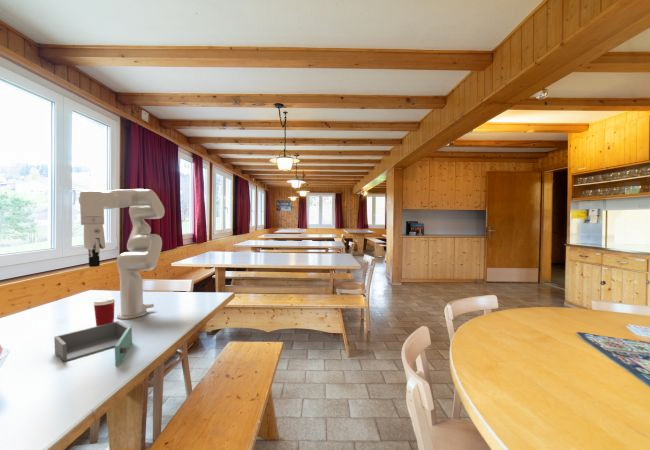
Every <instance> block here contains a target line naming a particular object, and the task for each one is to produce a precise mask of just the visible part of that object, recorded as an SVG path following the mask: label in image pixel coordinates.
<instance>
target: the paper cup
mask: <svg viewBox="0 0 650 450" xmlns="http://www.w3.org/2000/svg"><path fill="white" fill-rule="evenodd" d="M115 302H116V300H115V298H114V297H103V298H98V299H96V300H94V302H93V304H92V305H93V310H94V316H95V317H94V318H95V324H96V325H95V327H96V326H100V325H104V324H108V323H113V322H115Z"/></svg>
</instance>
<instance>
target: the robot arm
mask: <svg viewBox="0 0 650 450" xmlns="http://www.w3.org/2000/svg"><path fill="white" fill-rule="evenodd" d="M78 204H79V209H80V225H81V226H83V246H84V249H87V252H88V267H89V268H95V267H100V266H101V263H100V259H101V258H100V252H101V249H102V250H103V249H105V248H106V239H105V229H104V226H105V210H113V209H118V208H119V209H121V208H123V209H124V208H128V207H129V209H128V214H129V217H130V221H131V224H132V230H131V232H130V234H129V237H128V240H127V243H126V249H127V251H124V252H122V253H120V254H119V255H118V256H117V258H116V266H117V270H118V276H119V294H120V295H119V296H120V298H119V299H120V313H119V312H118V314H117V317H116V318H118V319H119V320H128V319H129V320H130V319H135V318H139V317H142V316H145V315H146V314H147V313H148V309H150V308H154V307H155V305H154V303H150V304H149V303H146V304H145V303H144V293H143V291H144V288H143V287H144V285H143V284H144V283H143V282H144V281H143V278H142V275H141V274H140V273H139V272H143V271H144V272H145V271H147V272H148V271H153V270H155V268H156V267H157V265H158V262H159V259H160V256H161V255H160V254H161V252H162V247H163V239H162V237H161V236H160V235H159V234H157V233H151V232H152V227H151V226H150V225H149V224H148V222H146V220H156V219H157V220H158V219H159V220H160V219H162V218H163V217H164V216H165V212H166V210H165V206H164V205H163V203H162V201H161V200H160V198H159V196H158V195H157V193H156V192H155V191H154V190H153V189H148V188H145V189H144V188H132V189H131V188H129V189H127V188H126V189H111V190H96V189H95V190H93V189H92V190H91V189H88V190H87V189H85V190H81V191H80V193H79V197H78Z"/></svg>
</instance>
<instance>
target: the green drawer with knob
mask: <svg viewBox="0 0 650 450" xmlns="http://www.w3.org/2000/svg"><path fill="white" fill-rule="evenodd" d="M127 327H128V328H127V329H126V331H125V332H124V334H123V335H122V337H121V338H120V340H119V341H118V342H117V344H116V345H115V347H114V360H115V361H114V362H115V363H114V365H115V367H118V366H120V365H121V364H122V362H123V360H124V358H125V356H126V354H127V352H128V350H129V349H130V347H131V345H132V344H133V326H132V325H127Z"/></svg>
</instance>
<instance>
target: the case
mask: <svg viewBox="0 0 650 450" xmlns="http://www.w3.org/2000/svg"><path fill="white" fill-rule="evenodd" d="M127 328H128V325H126V324H124V323H122V322H121V321H114V322H113V323H108V324H104V325H100V326H96V325H95V326H93V327H89V328H84V329H80V330H77V331H73V332H68V333H64V334H59V335H54V337H53V338H54V353H55V355H56V356H57V357H58V359H60V360H61V362H62V363H66V362H69V361H72V360H76V359H78V358H81V357H82V358H83V357H86V356H89V355H92V354H96V353H99V352H103V351H106V350H110V349H113V348H115V345H116V344H117V342H118V341H119V340H120V338H121V337H122V335H123V334H124V332H125V331H126V329H127Z"/></svg>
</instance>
